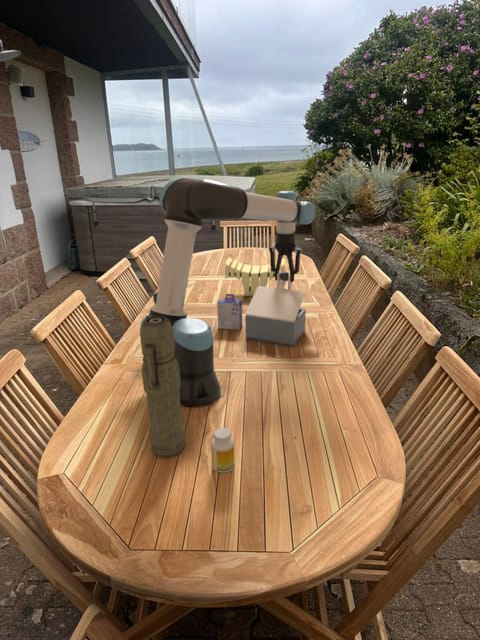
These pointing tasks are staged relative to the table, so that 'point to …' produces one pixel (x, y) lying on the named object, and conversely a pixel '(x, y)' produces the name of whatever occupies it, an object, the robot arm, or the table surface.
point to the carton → (276, 329)
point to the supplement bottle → (222, 450)
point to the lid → (276, 302)
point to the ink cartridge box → (229, 313)
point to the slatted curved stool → (250, 274)
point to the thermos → (162, 387)
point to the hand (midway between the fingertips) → (284, 288)
